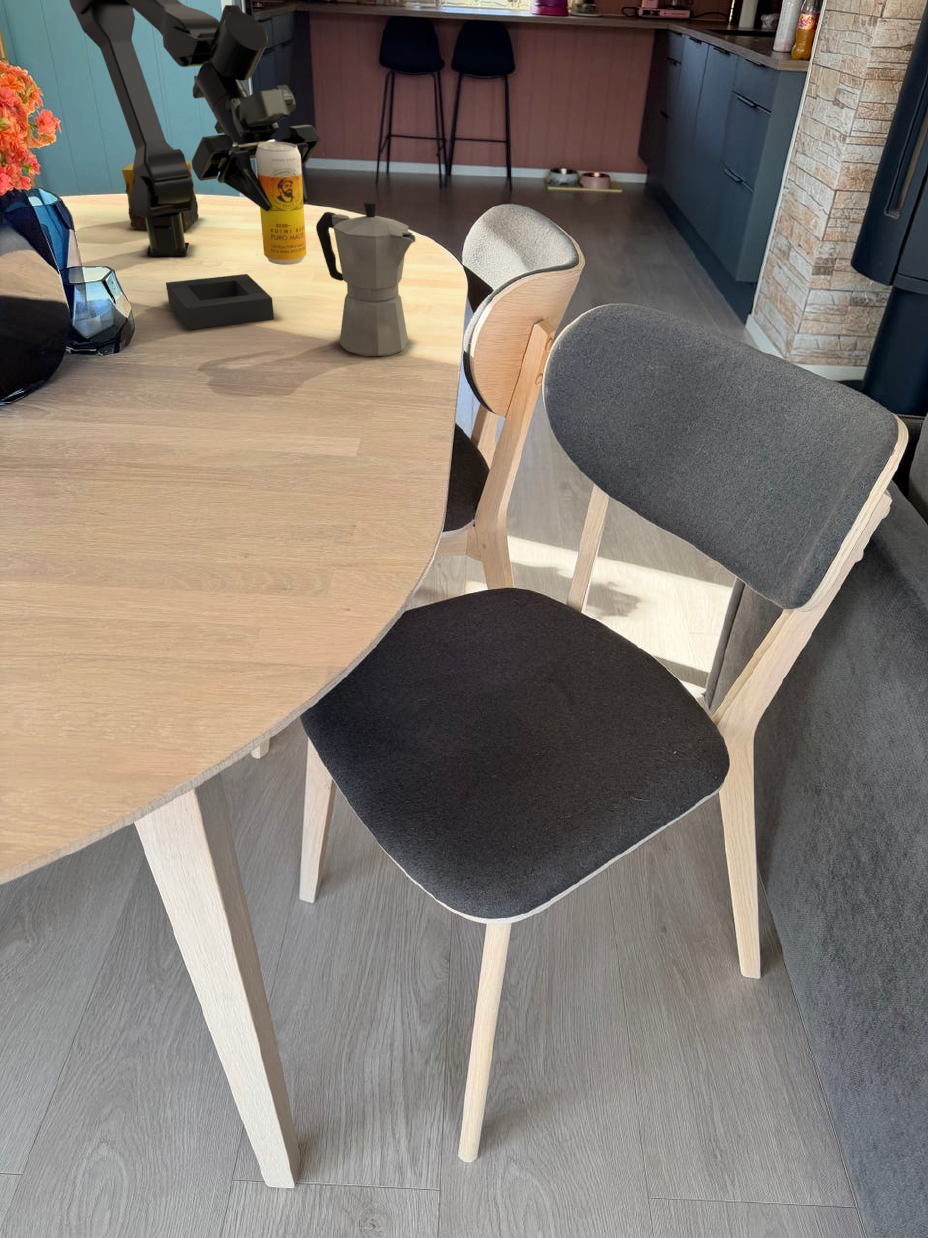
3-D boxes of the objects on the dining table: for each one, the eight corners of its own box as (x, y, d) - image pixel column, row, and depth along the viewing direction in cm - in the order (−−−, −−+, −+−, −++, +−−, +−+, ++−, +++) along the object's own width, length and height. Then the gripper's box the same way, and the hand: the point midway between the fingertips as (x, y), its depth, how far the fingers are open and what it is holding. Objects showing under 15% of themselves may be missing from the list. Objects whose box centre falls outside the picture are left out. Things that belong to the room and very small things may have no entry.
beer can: (273, 267, 128) (264, 151, 119) (258, 256, 132) (248, 142, 123) (313, 263, 130) (306, 148, 121) (297, 251, 135) (289, 140, 125)
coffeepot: (434, 345, 121) (436, 202, 111) (392, 366, 115) (390, 216, 104) (345, 321, 128) (339, 183, 117) (301, 339, 121) (290, 195, 111)
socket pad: (168, 303, 131) (165, 282, 129) (249, 293, 136) (247, 273, 134) (189, 329, 123) (186, 307, 121) (274, 318, 127) (272, 297, 126)
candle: (186, 232, 162) (178, 171, 156) (130, 230, 162) (119, 169, 156) (200, 218, 170) (193, 160, 164) (147, 216, 170) (137, 157, 164)
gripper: (191, 65, 113) (253, 177, 114) (308, 58, 124) (363, 160, 125) (166, 126, 122) (223, 229, 123) (277, 114, 133) (329, 209, 134)
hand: (287, 205), depth 126 cm, fingers closed on beer can, 6 cm apart
